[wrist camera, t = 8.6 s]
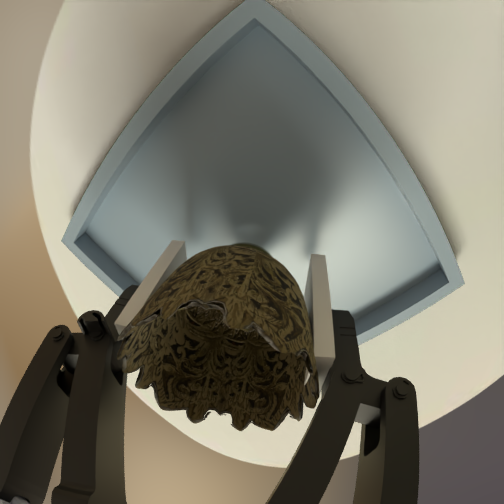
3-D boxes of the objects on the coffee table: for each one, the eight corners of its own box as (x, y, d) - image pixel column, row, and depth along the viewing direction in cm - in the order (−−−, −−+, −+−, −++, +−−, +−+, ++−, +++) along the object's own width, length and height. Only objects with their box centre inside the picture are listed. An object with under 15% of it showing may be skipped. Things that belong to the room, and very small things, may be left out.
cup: (328, 214, 13) (351, 346, 6) (302, 321, 17) (296, 440, 10) (179, 196, 14) (87, 298, 7) (187, 303, 18) (140, 409, 11)
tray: (260, 4, 10) (255, -8, 8) (453, 266, 16) (464, 283, 14) (76, 228, 19) (61, 240, 17) (249, 372, 25) (245, 390, 23)
